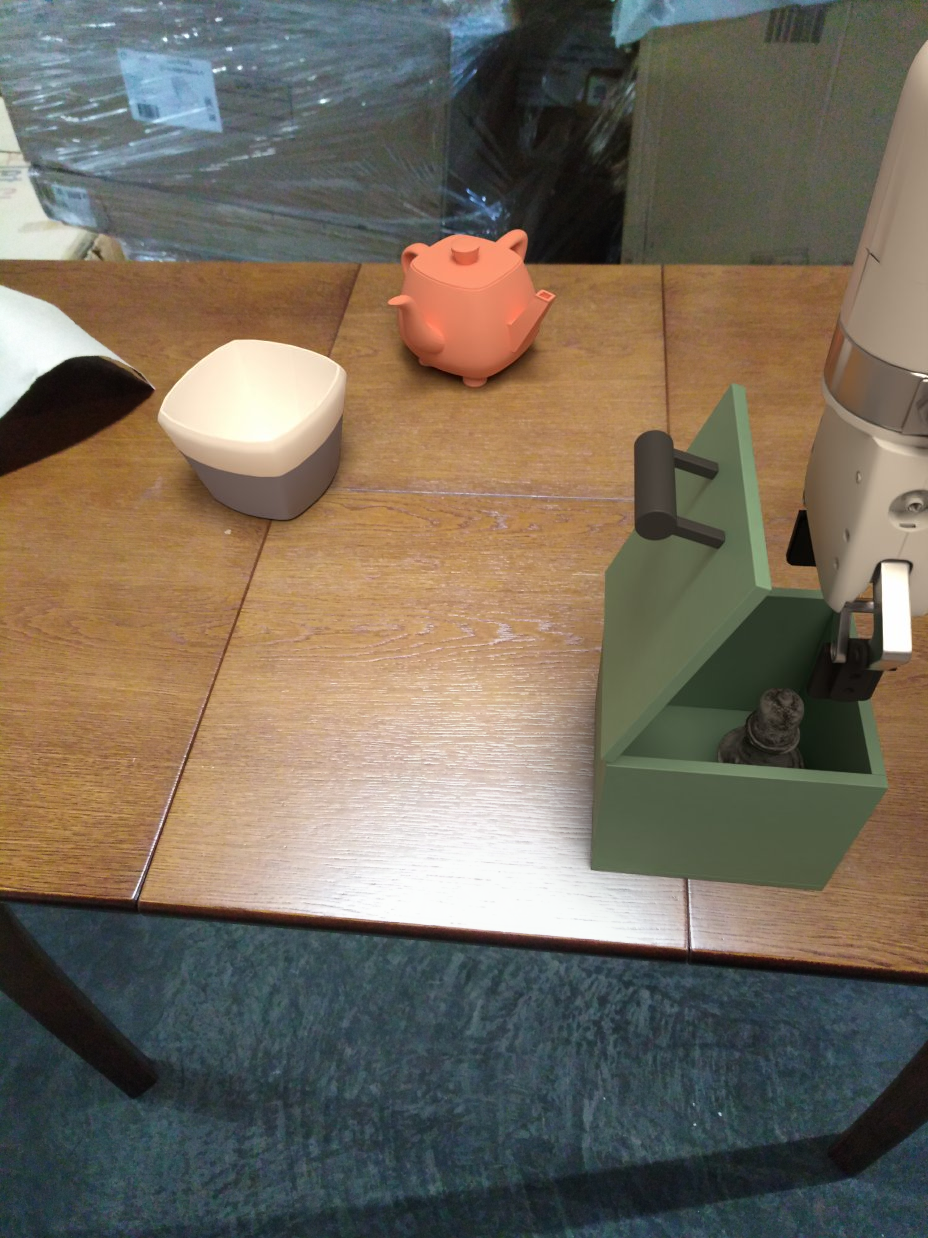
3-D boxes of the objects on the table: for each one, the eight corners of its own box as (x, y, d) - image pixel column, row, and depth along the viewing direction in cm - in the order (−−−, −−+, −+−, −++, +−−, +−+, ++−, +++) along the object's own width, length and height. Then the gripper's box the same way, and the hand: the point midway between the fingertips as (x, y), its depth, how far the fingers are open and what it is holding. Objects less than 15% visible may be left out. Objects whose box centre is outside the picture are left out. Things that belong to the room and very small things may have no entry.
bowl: (169, 508, 88) (131, 417, 80) (255, 418, 97) (229, 326, 88) (301, 551, 84) (276, 459, 75) (379, 452, 92) (365, 359, 84)
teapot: (555, 388, 98) (558, 273, 87) (401, 410, 97) (387, 296, 86) (525, 310, 108) (525, 198, 98) (386, 329, 107) (371, 218, 97)
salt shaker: (793, 760, 66) (838, 662, 57) (790, 830, 63) (836, 739, 53) (713, 743, 67) (743, 645, 58) (704, 812, 64) (735, 719, 55)
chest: (796, 712, 70) (848, 591, 59) (822, 891, 61) (889, 787, 50) (595, 698, 72) (609, 577, 61) (590, 870, 62) (605, 765, 51)
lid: (745, 386, 48) (654, 354, 47) (772, 590, 39) (661, 555, 38) (615, 575, 60) (542, 552, 59) (613, 763, 51) (526, 740, 50)
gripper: (1085, 507, 32) (926, 761, 45) (967, 259, 43) (867, 521, 56) (863, 500, 32) (770, 751, 45) (803, 259, 43) (743, 517, 57)
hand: (823, 625), depth 51 cm, fingers open, 9 cm apart
